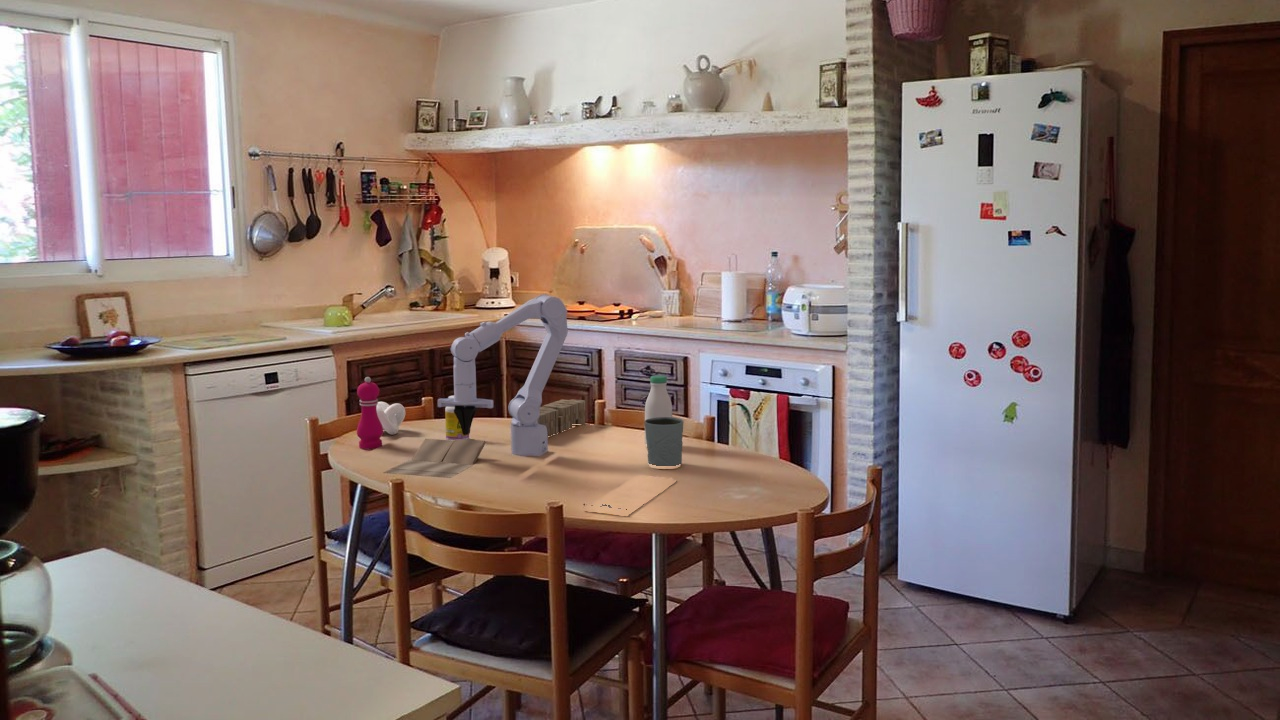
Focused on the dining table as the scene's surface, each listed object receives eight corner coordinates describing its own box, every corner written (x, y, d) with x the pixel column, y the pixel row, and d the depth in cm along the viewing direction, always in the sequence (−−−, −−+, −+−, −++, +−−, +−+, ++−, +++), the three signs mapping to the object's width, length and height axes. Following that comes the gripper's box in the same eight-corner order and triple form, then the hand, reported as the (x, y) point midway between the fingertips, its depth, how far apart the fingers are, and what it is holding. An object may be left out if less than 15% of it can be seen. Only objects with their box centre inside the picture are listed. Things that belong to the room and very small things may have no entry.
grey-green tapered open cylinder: (680, 471, 262) (680, 425, 260) (641, 469, 264) (640, 423, 262) (686, 461, 272) (686, 417, 270) (648, 460, 274) (648, 415, 272)
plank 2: (485, 443, 273) (484, 440, 272) (472, 467, 266) (471, 464, 266) (456, 441, 275) (455, 438, 275) (443, 465, 269) (442, 462, 268)
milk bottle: (672, 449, 285) (672, 378, 282) (644, 449, 285) (644, 378, 282) (672, 443, 292) (672, 374, 289) (645, 443, 293) (644, 374, 290)
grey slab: (473, 468, 265) (473, 464, 265) (450, 481, 253) (450, 477, 253) (409, 463, 271) (408, 460, 270) (383, 476, 258) (383, 472, 258)
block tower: (564, 425, 323) (511, 441, 297) (564, 398, 322) (511, 412, 296) (586, 427, 319) (534, 443, 293) (586, 400, 318) (534, 414, 292)
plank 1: (454, 443, 276) (454, 440, 275) (441, 465, 269) (440, 462, 268) (426, 441, 278) (425, 438, 278) (412, 462, 271) (411, 460, 271)
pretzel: (355, 436, 304) (354, 406, 302) (377, 427, 315) (376, 398, 314) (389, 438, 300) (388, 408, 299) (410, 429, 312) (409, 400, 310)
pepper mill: (387, 444, 293) (384, 374, 290) (378, 450, 286) (375, 379, 283) (362, 443, 294) (359, 374, 291) (353, 449, 287) (350, 378, 284)
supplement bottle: (457, 444, 293) (455, 399, 291) (441, 440, 297) (439, 397, 295) (474, 439, 298) (473, 396, 296) (458, 436, 302) (457, 393, 300)
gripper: (496, 381, 273) (497, 431, 275) (443, 380, 274) (444, 430, 276) (488, 385, 266) (489, 437, 268) (434, 384, 267) (435, 435, 269)
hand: (466, 434), depth 272 cm, fingers closed
